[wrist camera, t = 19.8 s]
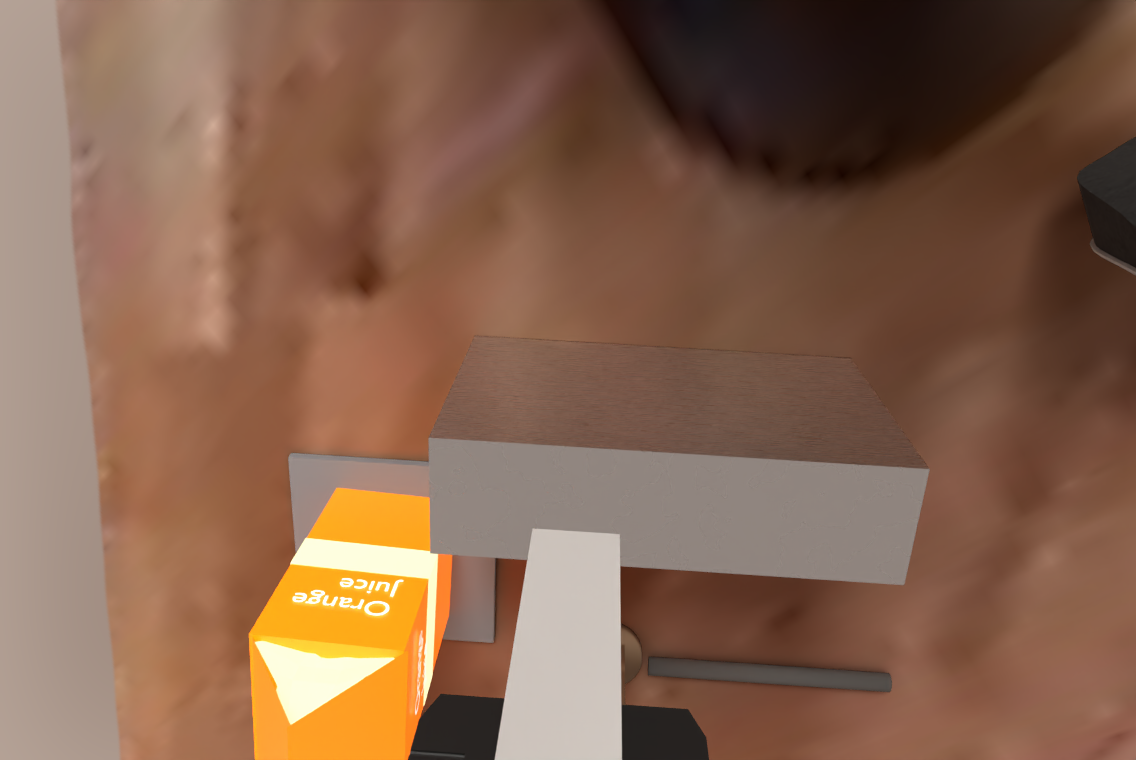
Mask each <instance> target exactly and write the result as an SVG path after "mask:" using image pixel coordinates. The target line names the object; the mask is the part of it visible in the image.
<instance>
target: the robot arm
mask: <svg viewBox="0 0 1136 760" xmlns="http://www.w3.org/2000/svg"><path fill="white" fill-rule="evenodd" d="M408 760H709V756H708V748H707V740H706V737H705V735H704V733H703V732H702V730H701V729H700V727H699V726H698V724H697V723H696V721H695V719H694V718H693V716H692V715H691V713H690V712H689V710H688V709H676V708H662V707H648V706H634V705H621V606H620V534H610V533H594V532H579V531H564V530H548V529H532V535H531V541H530V547H529V553H528V559H527V565H526V571H525V578H524V584H523V590H522V596H521V602H520V608H519V614H518V620H517V626H516V632H515V639H514V645H513V651H512V657H511V663H510V669H509V675H508V681H507V687H506V693H505V699H502V698H488V697H474V696H460V695H446V694H440V696H439V697H438V698H437V699H436V700H435V701H434V703H433V704H432V705H431V706H430V707H429V708H428V709H427V711H426V712H425V713H424V714H423V715H422V716H421V718H420V719H419V721H418V725H417V728H416V732H415V735H414V739H413V742H412V746H411V749H410V755H409V756H408Z"/></svg>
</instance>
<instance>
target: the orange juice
mask: <svg viewBox="0 0 1136 760" xmlns="http://www.w3.org/2000/svg"><path fill="white" fill-rule="evenodd" d="M290 564H291V565H290V567H289V568H288V570H287V572H286V573H285V575H284V577H283V578H282V580H281V582H280V583H279V585H278V587H277V588H276V590H275V592H274V593H273V595H272V597H271V598H270V600H269V602H268V603H267V605H266V607H265V608H264V610H263V612H262V613H261V615H260V617H259V618H258V620H257V622H256V623H255V625H254V627H253V628H252V630H251V632H250V633H249V646H250V666H251V686H252V707H253V727H254V748H255V760H408V756H409V755H410V749H411V746H412V742H413V739H414V735H415V732H416V728H417V725H418V721H419V719H420V716H421V712H422V709H423V706H424V704H425V701H426V697H427V694H428V690H429V687H430V683H431V679H432V675H433V670H434V666H435V663H436V659H437V655H438V652H439V648H440V645H441V641H442V638H443V634H444V631H445V627H446V624H447V620H448V616H449V606H450V587H451V568H452V555H445V554H430V503H429V498H428V497H419V496H410V495H400V494H391V493H381V492H372V491H363V490H353V489H344V488H337V489H336V490H335V492H334V494H333V495H332V497H331V499H330V500H329V502H328V503H327V505H326V507H325V508H324V510H323V512H322V513H321V515H320V517H319V518H318V520H317V522H316V523H315V525H314V527H313V528H312V530H311V532H310V533H309V535H308V537H307V538H305V540H304V542H303V543H302V545H301V547H300V548H299V550H298V552H297V553H296V555H295V557H294V558H293V560H292V561H291V563H290Z"/></svg>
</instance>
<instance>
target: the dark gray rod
mask: <svg viewBox="0 0 1136 760" xmlns="http://www.w3.org/2000/svg"><path fill="white" fill-rule="evenodd" d="M648 675H652V676H666V677H680V678H695V679H709V680H723V681H738V682H752V683H766V684H780V685H795V686H809V687H823V688H838V689H852V690H866V691H880V692H890V691H891V688H892V680H891V676H890V674H889V673H879V672H864V671H850V670H836V669H821V668H807V667H792V666H778V665H763V664H749V663H735V662H720V661H706V660H691V659H677V658H663V657H649V659H648Z"/></svg>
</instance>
